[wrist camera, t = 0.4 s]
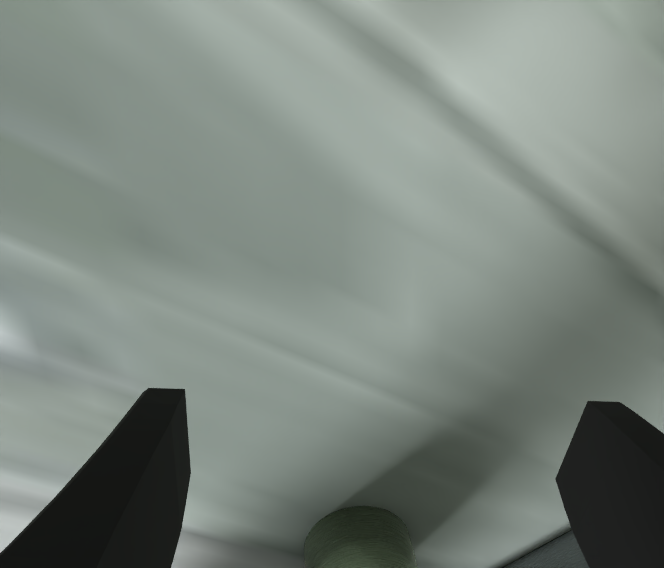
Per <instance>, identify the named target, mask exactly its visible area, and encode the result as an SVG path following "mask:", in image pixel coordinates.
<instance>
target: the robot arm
mask: <svg viewBox="0 0 664 568" xmlns="http://www.w3.org/2000/svg"><path fill="white" fill-rule="evenodd" d="M190 474H191V469H190V455H189V441H188V427H187V413H186V398H185V389H163V388H148V389H147V390H146V391H144V392H143V393H142V394H141V396H140V397H139V398H138V399H137V401H136V402H135V403H134V405H133V406H132V407H131V409H130V410H129V411H128V412H127V414H126V415H125V416H124V417H123V419H122V420H121V421H120V422H119V424H118V425H117V426H116V427H115V429H114V430H113V431H112V432H111V434H110V435H109V436H108V437H107V438H106V440H105V441H104V442H103V443H102V444H101V446H100V447H99V448H98V449H97V450H96V452H95V453H94V454H93V455H92V456H91V457H90V458H89V459H88V461H87V462H86V463H85V464H84V465H83V466H82V467H81V469H80V470H79V471H78V472H77V473H76V474H75V475H74V477H73V478H72V479H71V480H70V481H69V482H68V483H67V484H66V486H65V487H64V488H63V489H62V490H61V491H60V492H59V493H58V494H57V495H56V497H55V498H54V499H53V500H52V501H51V502H50V503H49V504H48V505H47V506H46V507H45V508H44V509H43V510H42V511H41V512H40V513H39V514H38V515H37V516H36V517H35V518H34V519H33V520H32V522H31V523H30V524H29V525H28V526H27V527H26V528H25V529H24V530H23V531H22V532H21V533H20V534H19V535H18V536H17V537H16V538H15V539H14V540H13V541H12V542H11V543H10V544H9V545H8V546H7V547H6V548H5V549H4V550H3V551H2V552H1V553H0V568H171V565H172V562H173V558H174V554H175V551H176V547H177V543H178V540H179V536H180V532H181V528H182V522H183V516H184V511H185V505H186V499H187V493H188V486H189V480H190ZM556 482H557V485H558V488H559V492H560V495H561V498H562V501H563V504H564V508H565V511H566V514H567V516H568V519H569V522H570V525H571V528H572V531H573V534H574V536H575V538H576V540H577V542H578V545H579V547H580V549H581V551H582V553H583V555H584V558H585V560H586V562H587V564H588V566H589V568H664V434H663V433H662V432H661V431H659V430H658V429H657V428H655V427H654V426H653V425H651V424H650V423H649V422H647V421H646V420H645V419H643V418H642V417H640V416H639V415H638V414H636V413H635V412H634V411H632V410H631V409H629V408H628V407H626V406H625V405H623V404H622V403H620V402H599V401H588V402H587V404H586V407H585V409H584V411H583V414H582V416H581V419H580V421H579V423H578V426H577V428H576V431H575V433H574V436H573V438H572V440H571V443H570V445H569V448H568V450H567V452H566V455H565V457H564V460H563V462H562V465H561V467H560V469H559V472H558V474H557V477H556Z"/></svg>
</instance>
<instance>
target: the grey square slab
mask: <svg viewBox="0 0 664 568" xmlns="http://www.w3.org/2000/svg"><path fill="white" fill-rule="evenodd" d="M504 568H589V566H588V564H587V562H586V560H585V558H584V555H583V553H582V551H581V549H580V547H579V545H578V542H577V540H576V538H575V536H574V534H573V531H572V530H571V531H569V532H567V533H566V534H564V535H562V536H560V537H558V538H557V539H555V540H553V541H551V542H549V543H547V544H546V545H544V546H542V547H540V548H538V549H536V550H535V551H533V552H531V553H529V554H527V555H526V556H524V557H522V558H520V559H518V560H516V561H515V562H513V563H511V564H509V565H507V566H506V567H504Z"/></svg>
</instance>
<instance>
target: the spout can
mask: <svg viewBox="0 0 664 568" xmlns="http://www.w3.org/2000/svg"><path fill="white" fill-rule="evenodd" d="M304 559H305V568H418V566H417V562H416V559H415V555H414V551H413V548H412V544H411V541H410V537H409V533H408V530H407V528H406V526H405V524H404V523H403V522H402V521H401V520H400V519H399V518H398V517H397V516H396V515H394V514H393V513H391V512H389V511H387V510H384V509H381V508H377V507H371V506H356V507H349V508H345V509H341V510H338V511H336V512H333V513H331V514H329V515H328V516H326V517H324V518H323V519H322V520H320V521H319V522H318V523H317V524H316V525H315V526H314V527H313V528H312V529H311V531H310V532H309V534H308V536H307V538H306V541H305V545H304Z"/></svg>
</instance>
